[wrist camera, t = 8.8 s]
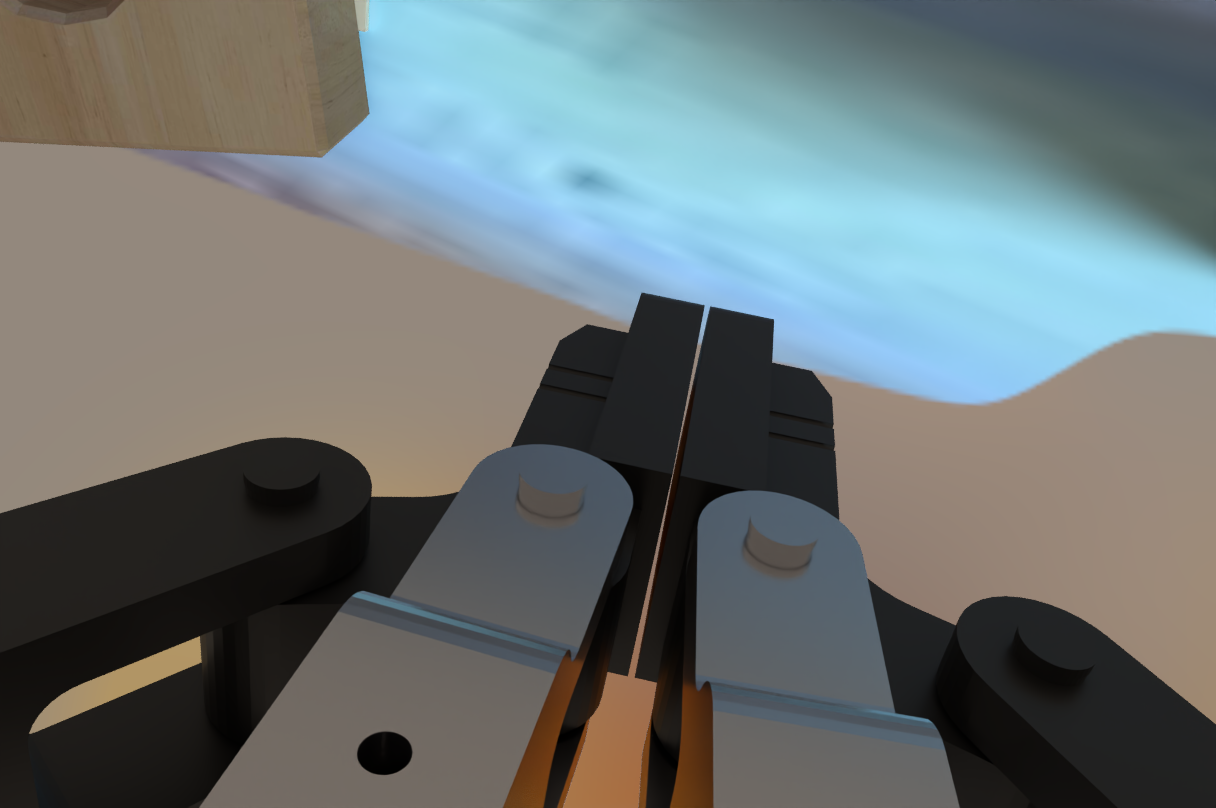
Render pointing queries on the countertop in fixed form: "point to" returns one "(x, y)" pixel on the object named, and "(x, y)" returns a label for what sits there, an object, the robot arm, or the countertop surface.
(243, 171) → the countertop surface
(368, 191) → the countertop surface
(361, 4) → the sand mat
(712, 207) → the countertop surface
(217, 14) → the decorative block
